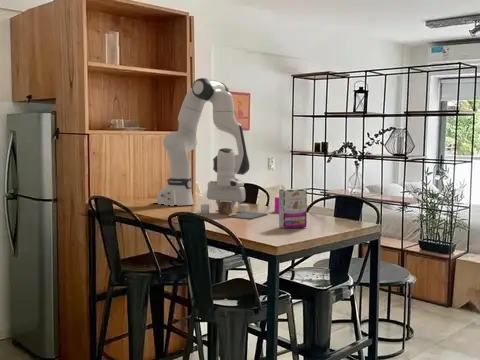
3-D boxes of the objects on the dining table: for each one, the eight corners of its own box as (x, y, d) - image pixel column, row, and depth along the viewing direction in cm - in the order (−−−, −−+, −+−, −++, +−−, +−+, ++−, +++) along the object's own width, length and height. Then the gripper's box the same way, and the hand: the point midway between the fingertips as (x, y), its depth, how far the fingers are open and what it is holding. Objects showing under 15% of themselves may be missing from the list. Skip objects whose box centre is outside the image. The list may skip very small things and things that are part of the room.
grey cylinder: (199, 215, 263) (199, 205, 263) (203, 214, 266) (203, 204, 266) (206, 215, 261) (206, 205, 261) (210, 214, 265) (210, 204, 264)
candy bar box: (300, 225, 236) (301, 188, 235) (306, 227, 231) (307, 189, 230) (277, 227, 232) (278, 188, 230) (283, 229, 227) (284, 190, 226)
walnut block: (218, 214, 266) (218, 202, 266) (223, 213, 271) (223, 201, 270) (227, 215, 264) (227, 202, 264) (232, 213, 269) (232, 201, 268)
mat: (228, 217, 255) (228, 216, 255) (245, 213, 271) (245, 211, 271) (250, 220, 250) (250, 218, 250) (267, 215, 266) (267, 213, 266)
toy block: (282, 213, 273) (282, 198, 273) (274, 211, 278) (274, 197, 278) (304, 211, 282) (305, 196, 281) (296, 209, 287) (297, 195, 286)
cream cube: (238, 212, 274) (238, 204, 274) (243, 211, 277) (243, 204, 276) (244, 213, 271) (244, 205, 271) (249, 212, 274) (249, 204, 274)
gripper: (204, 181, 268) (204, 208, 269) (241, 183, 259) (240, 212, 260) (211, 180, 274) (210, 207, 275) (247, 182, 264) (246, 210, 265)
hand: (225, 209), depth 267 cm, fingers closed on walnut block, 5 cm apart
